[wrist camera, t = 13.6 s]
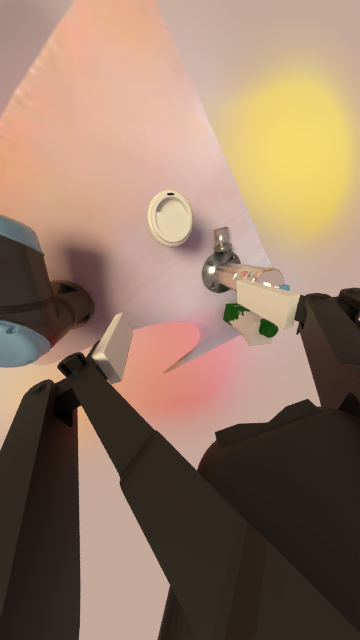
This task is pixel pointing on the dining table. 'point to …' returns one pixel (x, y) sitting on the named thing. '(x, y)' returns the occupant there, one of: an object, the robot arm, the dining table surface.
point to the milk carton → (250, 324)
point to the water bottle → (248, 275)
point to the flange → (218, 260)
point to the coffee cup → (170, 218)
